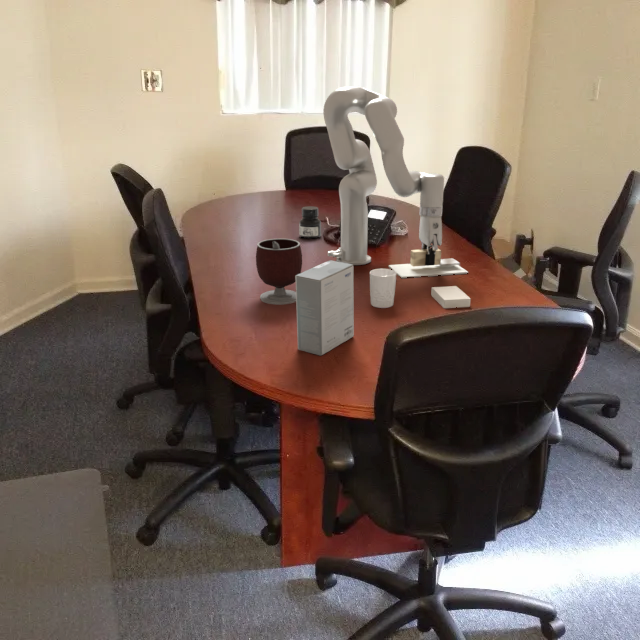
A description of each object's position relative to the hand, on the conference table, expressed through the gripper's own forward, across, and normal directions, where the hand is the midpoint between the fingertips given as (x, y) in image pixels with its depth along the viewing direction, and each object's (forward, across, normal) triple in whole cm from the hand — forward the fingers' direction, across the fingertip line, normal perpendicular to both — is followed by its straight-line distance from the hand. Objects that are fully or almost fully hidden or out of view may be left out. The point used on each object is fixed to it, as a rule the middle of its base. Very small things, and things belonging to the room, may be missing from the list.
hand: (427, 263), depth 232 cm
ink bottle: (+3, +56, +30) cm, 64 cm away
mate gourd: (+3, -18, +55) cm, 58 cm away
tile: (+1, -26, +5) cm, 26 cm away
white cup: (+3, -30, +26) cm, 40 cm away
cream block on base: (0, 0, -2) cm, 2 cm away
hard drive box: (+3, -55, +49) cm, 74 cm away
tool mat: (+3, 0, 0) cm, 3 cm away
